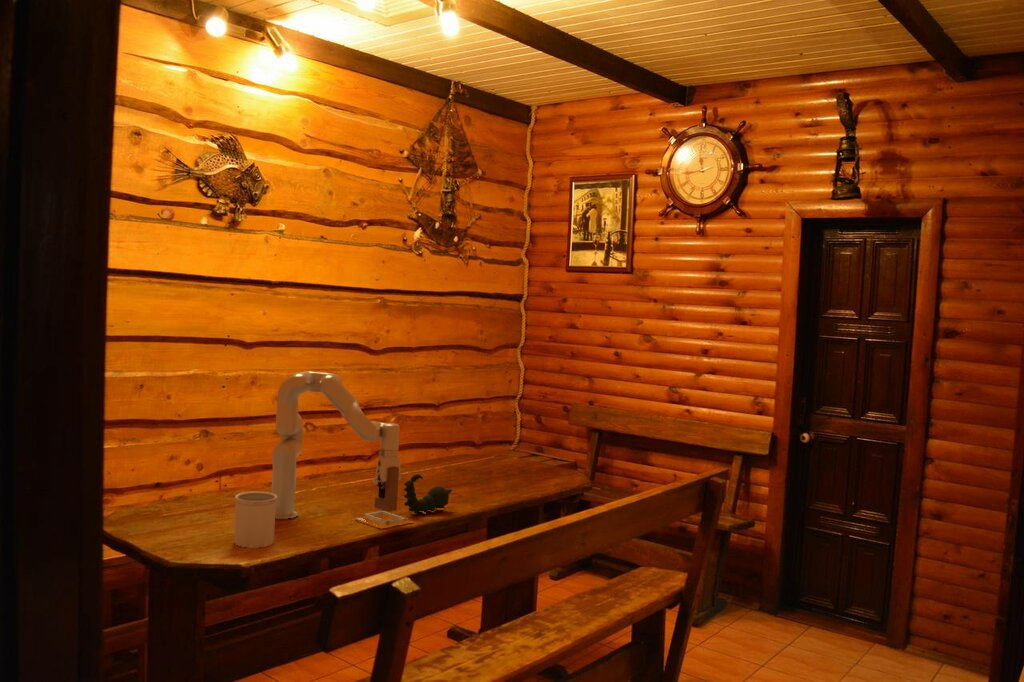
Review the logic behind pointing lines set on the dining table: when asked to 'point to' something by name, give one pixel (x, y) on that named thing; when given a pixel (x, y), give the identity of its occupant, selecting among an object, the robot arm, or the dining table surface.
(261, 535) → the utensil holder
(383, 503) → the wooden block
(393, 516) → the dock tray
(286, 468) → the robot arm
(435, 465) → the dining table surface
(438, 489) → the toy figurine
